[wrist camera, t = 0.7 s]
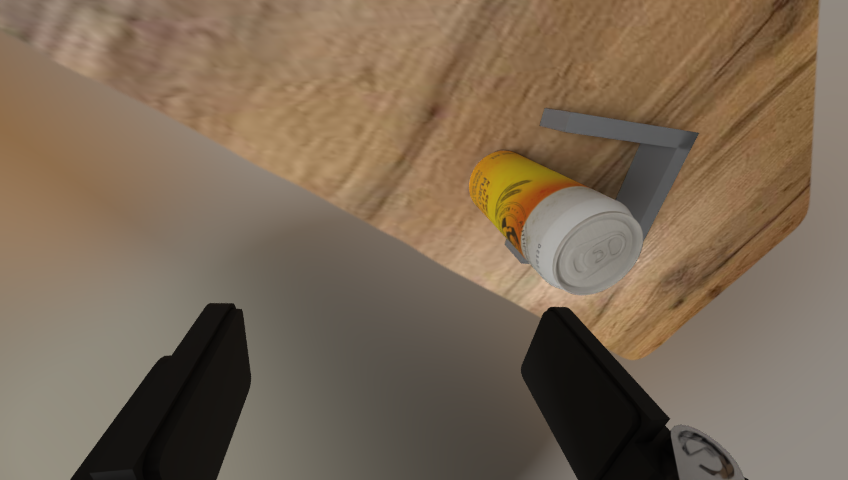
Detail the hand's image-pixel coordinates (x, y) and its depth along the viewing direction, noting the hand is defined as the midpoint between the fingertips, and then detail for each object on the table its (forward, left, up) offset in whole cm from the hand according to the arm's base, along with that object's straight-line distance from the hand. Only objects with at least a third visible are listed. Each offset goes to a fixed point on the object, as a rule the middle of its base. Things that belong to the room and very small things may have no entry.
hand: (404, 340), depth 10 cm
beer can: (-12, 0, -21) cm, 24 cm away
